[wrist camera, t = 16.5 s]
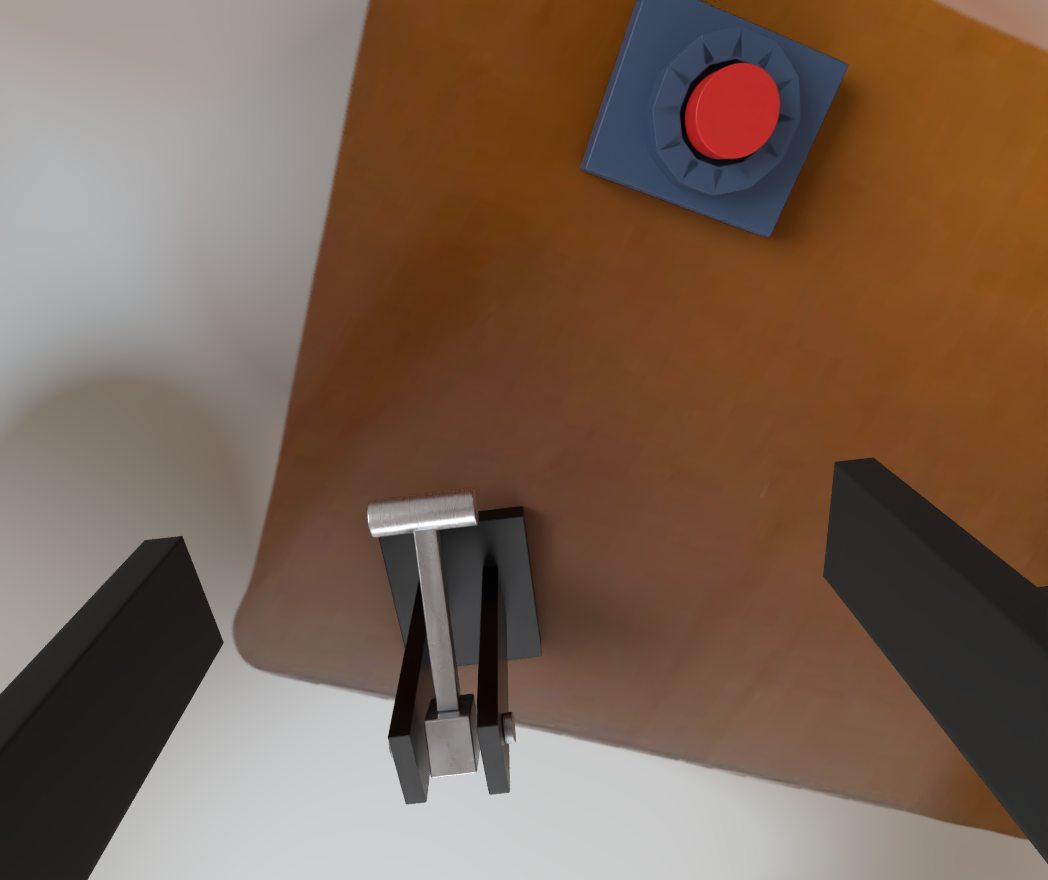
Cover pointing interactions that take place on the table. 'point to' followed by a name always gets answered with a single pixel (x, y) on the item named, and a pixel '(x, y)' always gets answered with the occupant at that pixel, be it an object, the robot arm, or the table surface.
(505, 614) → the bracket
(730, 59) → the button box
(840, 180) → the table surface
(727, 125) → the button
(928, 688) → the robot arm
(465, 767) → the lever
